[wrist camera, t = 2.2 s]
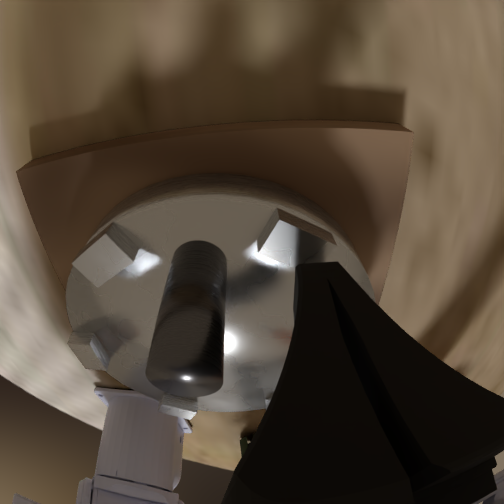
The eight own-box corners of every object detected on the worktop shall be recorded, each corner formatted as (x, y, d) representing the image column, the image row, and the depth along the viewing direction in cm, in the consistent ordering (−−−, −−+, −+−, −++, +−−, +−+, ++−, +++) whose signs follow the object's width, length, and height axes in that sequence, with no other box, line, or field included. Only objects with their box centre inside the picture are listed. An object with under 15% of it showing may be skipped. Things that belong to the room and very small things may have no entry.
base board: (349, 361, 23) (353, 378, 21) (128, 371, 23) (124, 388, 21) (398, 123, 12) (415, 133, 11) (31, 160, 12) (14, 173, 11)
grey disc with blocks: (338, 372, 20) (358, 463, 14) (134, 381, 20) (118, 468, 15) (382, 166, 12) (487, 281, 6) (43, 197, 12) (-49, 306, 6)
